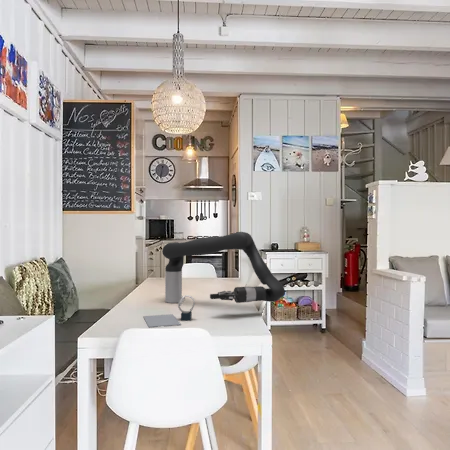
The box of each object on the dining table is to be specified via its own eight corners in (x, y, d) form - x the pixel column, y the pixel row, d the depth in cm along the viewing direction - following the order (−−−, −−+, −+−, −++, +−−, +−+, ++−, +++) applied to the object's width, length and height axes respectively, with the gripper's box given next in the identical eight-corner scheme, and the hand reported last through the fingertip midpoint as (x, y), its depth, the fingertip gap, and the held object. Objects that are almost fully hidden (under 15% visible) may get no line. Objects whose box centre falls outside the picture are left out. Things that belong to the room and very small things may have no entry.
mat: (143, 316, 194) (143, 316, 194) (172, 315, 198) (172, 314, 198) (148, 327, 175) (148, 326, 175) (181, 325, 179) (181, 324, 179)
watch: (178, 317, 193) (178, 294, 193) (195, 317, 193) (195, 294, 193) (176, 320, 188) (176, 296, 187) (194, 320, 187) (194, 296, 187)
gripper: (240, 284, 205) (206, 286, 200) (249, 288, 193) (214, 290, 187) (240, 299, 205) (206, 302, 200) (249, 304, 193) (214, 307, 187)
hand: (210, 296), depth 194 cm, fingers closed
